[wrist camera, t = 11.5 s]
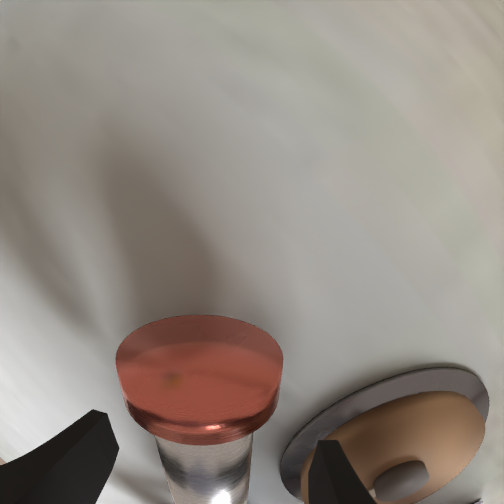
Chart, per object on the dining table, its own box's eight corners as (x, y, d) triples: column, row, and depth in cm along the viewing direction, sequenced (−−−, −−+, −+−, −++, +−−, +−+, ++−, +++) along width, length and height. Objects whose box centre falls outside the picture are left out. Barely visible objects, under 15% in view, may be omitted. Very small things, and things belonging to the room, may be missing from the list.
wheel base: (517, 354, 11) (520, 357, 10) (436, 488, 14) (437, 491, 13) (297, 372, 11) (297, 376, 11) (270, 509, 14) (270, 512, 14)
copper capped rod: (281, 320, 9) (285, 417, 5) (257, 513, 13) (252, 571, 9) (149, 308, 10) (85, 387, 5) (184, 504, 13) (170, 560, 9)
